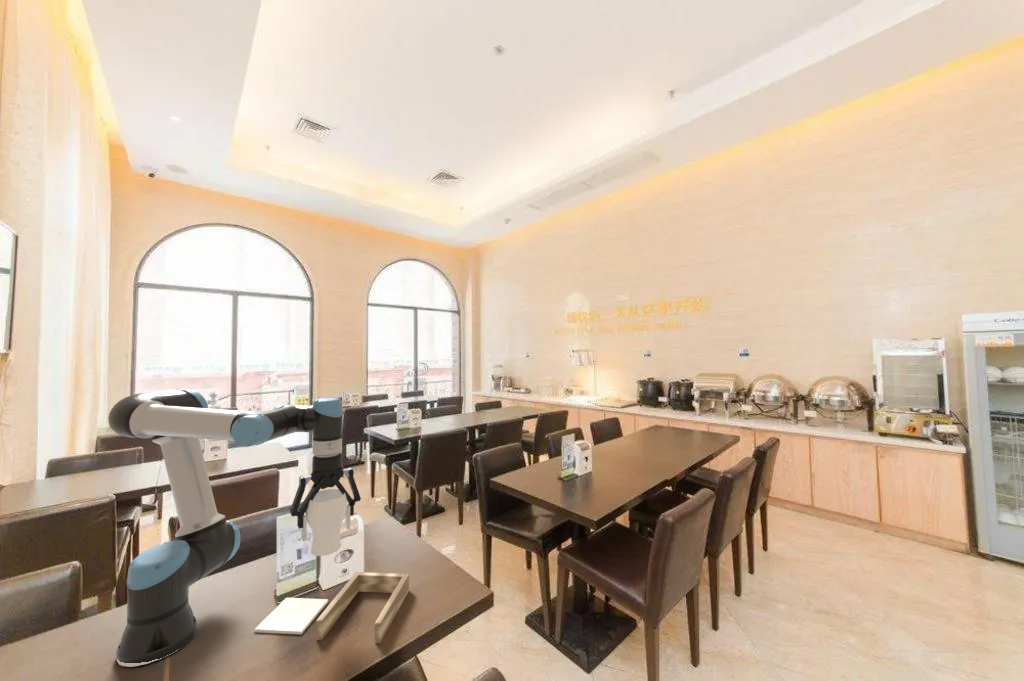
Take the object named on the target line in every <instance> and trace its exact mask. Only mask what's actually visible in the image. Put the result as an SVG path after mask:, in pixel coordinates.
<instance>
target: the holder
mask: <svg viewBox="0 0 1024 681" xmlns="http://www.w3.org/2000/svg"><path fill="white" fill-rule="evenodd" d="M409 591H410V574H409V573H393V572H392V573H388V572H366V571H365V572H360V571H356V572H355V573H354V574H353V575H352V576H351V578H349V580H348V581H347V582H346V584H345V585H344V586H343V587H342V589H340V590H339V592H338V593H337V594H336V595H335V597H334V598H333V599H332V600H331V602H330V603H329V604H328V605H327V607H326V608H325V609H324V610H323V611H322V613H321V614H320V615H319V617H318V618H317V619H316V637H315V638H316V641H322V640H324V638H325V637H326V635H327V634H328V633H329V632H330V630H331V629H332V627H333V626H334V625H335V623H336V622H337V621H338V619H340V617H341V615H342V613H344V611H345V610H346V609H347V607H348V606H349V605H350V603H352V600H353V599H354V598H355V596H356V595H357V594H358V592H361V593H363V592H367V593H391V595H390V597H388V598H389V599H388V600H387V602H386V604H385V605H384V607H383V608H382V610H381V612H380V614H379V616H378V618H376V620H375V622H374V643H375V644H381V643H382V642H383V640H384V637H385V636H386V634H387V632H388V630H389V628H390V626H391V625H392V623H393V621H394V619H395V618H396V615H397V614H398V611H399V609H400V608H401V606H402V604H403V602H404V600H405V598H406V597H407V595H408V593H409Z"/></svg>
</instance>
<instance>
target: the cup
mask: <svg viewBox="0 0 1024 681" xmlns="http://www.w3.org/2000/svg"><path fill="white" fill-rule="evenodd" d="M347 503H348V501H347V498H346V494H345V493H344V495H343V494H342V493H341V492H340V490H339V489H338V488H329V489H326V488H325V489H320V490H319V492H318V493H317V494H316V496H315V497H314V499H313V501H312V500H310V502H309V505H308V509H307V510H306V512H305V514H306V516H307V525H308V526H309V527H310V530H311V534H312V542H311V546H310V553H311V554H312V555H313V556H315V557H322V556H323V557H324V556H329V555H332V554H333V553H337V551H339V550H340V549H341V547H342V540H341V535H340V532H341V526H342V523H343V522H344V520H345V515H346V511H347Z"/></svg>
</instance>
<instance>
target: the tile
mask: <svg viewBox="0 0 1024 681" xmlns="http://www.w3.org/2000/svg"><path fill="white" fill-rule="evenodd" d="M328 603H329V599H328V598H307V597H306V598H305V597H285V598H284V599H283V600H282V601H281V603H279V604H278V606H277V607H275V608H274V609H273V610H272V611H271V612H270V613H269V614H268V615H267V616H266V617H265V618H263V620H262V621H261V622H260V623H259V624H258V625H257V626H256V627H255V628H254V633H259V634H261V633H262V634H280V635H281V634H282V635H283V634H284V635H285V634H286V635H303V633H305V630H307V629H308V628H309V627H310V625H311V624H312V622H313V621H314V620H315V619H316V617H318V615H319V614H320V613H321V612H322V610H323V609H324V608H325V607H326V606H327V604H328Z"/></svg>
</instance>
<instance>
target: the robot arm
mask: <svg viewBox="0 0 1024 681" xmlns="http://www.w3.org/2000/svg"><path fill="white" fill-rule="evenodd" d="M343 415H344V412H343V401H342V399H341V398H338V397H321V398H320V397H319V398H316V399H315V400H313V403H312V405H311V404H310V405H305V404H303V405H302V404H291V403H287V404H278V405H276V406H274V407H273V409H270V410H266V411H249V410H248V411H246V410H237V409H236V410H233V409H221V408H220V409H219V408H209V405H208V402H207V400H206V398H205V397H204V396H203V395H202V394H201V393H200V392H198V391H196V390H194V389H190V388H181V389H180V388H174V389H167V390H160V391H159V390H158V391H152V392H139V393H135V394H134V393H133V394H132V395H129V396H126V397H124V398H122V399H120V400H119V401H118V402H116V403H115V404H114V405H113V406H112V408H111V410H110V411H109V414H108V424H109V427H110V428H111V430H112V431H114V432H115V433H116V434H117V435H118V436H122V437H126V438H133V439H135V438H137V439H151V442H153V443H155V444H157V445H160V448H161V452H162V456H163V461H164V465H165V469H166V473H167V477H168V480H169V481H168V482H169V485H170V489H171V493H172V497H173V502H174V505H175V510H176V513H177V518H178V522H179V529H178V530H177V532H176V533H175V535H174V536H175V537H174V538H175V540H168V541H166V542H163V543H162V544H155V545H154V546H152V547H150V548H148V549H146V550H144V551H142V552H141V553H140V554H138V555H137V556H136V557H135V558H133V560H132V562H131V563H130V564H129V567H128V571H127V577H126V587H127V588H126V592H127V594H126V595H127V596H126V597H127V600H126V603H127V604H126V625H125V628H124V631H123V633H122V636H121V639H120V640H121V641H120V642H119V644H118V646H117V649H116V652H115V653H116V654H115V656H116V657H117V659H118V660H119V661H120V662H124V663H141V662H149V661H152V660H155V659H160V658H163V657H165V656H167V655H169V654H171V653H173V652H175V651H176V650H178V649H180V648H181V649H183V648H184V647H185V646H187V645H188V644H189V643H191V641H192V640H193V639H194V637H195V636H196V633H197V631H198V629H197V628H198V626H197V625H198V621H197V618H196V616H195V615H194V612H193V610H192V607H191V606H190V603H189V602H190V601H189V592H190V591H189V588H190V587H191V586H192V585H194V584H195V583H197V582H198V581H200V580H201V579H203V578H204V577H206V576H208V575H209V574H211V573H213V572H214V571H215V570H217V569H219V568H221V567H222V566H224V565H225V564H226V563H227V562H228V561H229V560H231V559H232V558H233V557H234V556H235V555H236V553H237V552H238V550H239V548H240V544H241V533H240V529H239V527H238V526H237V525H236V524H234V522H233V521H231V520H227V519H226V515H225V514H221V513H219V512H218V510H217V506H216V502H215V498H214V494H213V488H212V486H211V482H210V478H209V477H210V476H209V474H208V473H209V472H208V469H207V465H206V463H205V458H204V457H205V456H204V454H203V449H202V444H201V440H200V439H202V440H203V439H205V440H217V441H230V442H232V441H233V442H234V443H236V444H237V445H238V446H240V447H245V448H248V447H249V448H250V447H253V446H259V445H262V444H264V443H268V442H270V441H273V440H275V439H278V438H282V437H285V436H287V435H291V434H294V433H312V455H313V456H312V460H311V461H312V463H311V464H312V465H311V467H312V468H311V469H312V470H311V473H310V475H307V476H303V475H300V476H299V478H298V487H297V490H296V492H295V496H294V497H293V501H292V504H291V506H290V510H289V514H290V515H291V517H297V524H296V525H297V527H298V530H301V535H300V536H301V539H302V541H303V542H306V541H307V535H308V534H307V532H308V531H307V530H308V529H307V528H308V527H307V526H308V522H307V516H306V514H305V512H306V510H307V509H308V505H309V502H310V500H312V501H313V499H314V497H315V496H316V494H317V493H318V492H319V491H321V490H326V488H334V487H335V486H336V489H339V490H340V492H341V493H342V494H343V495H344V493H345V494H346V498H347V511H346V515H345V518H344V527H345V528H346V530H350V529H351V516H354V514H355V511H354V510H355V505H356V503H357V502H360V501H361V500H362V499H361V498H362V497H361V495H360V492H359V489H358V486H357V483H356V480H355V477H354V475H355V474H354V473H355V471H354V469H353V468H352V467H347V468H345V469H343V454H342V453H341V452H342V451H343ZM343 475H344V476H345V477H346V478H347V482H348V484H349V487H350V489H351V493H352V496H353V497H351V495H350V493H349V492H348V491H347V489H346V488H345V487H344V486H343V484H342V483H341V481H340V480H341V478H342V477H343ZM310 481H312V483H313V484H312V485H311V488H310V490H309V492H308V494H307V495H306V497H305V498H304V500H303V501H302V499H303V496H304V493H305V490H306V487H307V485H309V482H310ZM301 501H302V503H301ZM300 504H301V505H300ZM187 643H188V644H187ZM186 644H187V645H186ZM183 646H184V647H183ZM182 647H183V648H182ZM181 649H180V650H181ZM178 651H179V650H178ZM175 653H176V652H175Z"/></svg>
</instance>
